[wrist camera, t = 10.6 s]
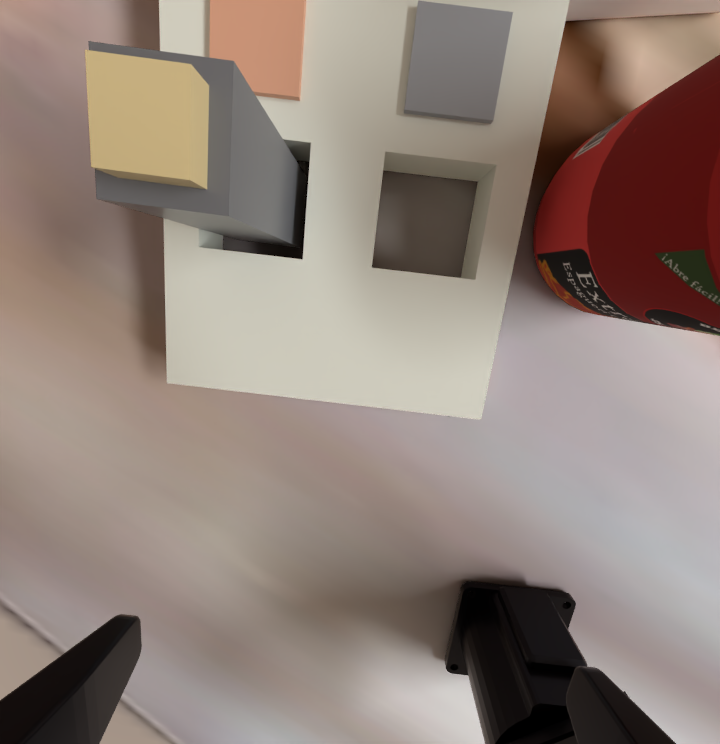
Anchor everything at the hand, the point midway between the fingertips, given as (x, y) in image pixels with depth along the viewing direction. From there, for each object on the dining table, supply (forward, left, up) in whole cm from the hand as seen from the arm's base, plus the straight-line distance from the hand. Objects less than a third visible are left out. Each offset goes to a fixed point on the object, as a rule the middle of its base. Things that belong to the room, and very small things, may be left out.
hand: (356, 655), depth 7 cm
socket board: (+10, +2, -12) cm, 16 cm away
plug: (+10, +5, -12) cm, 17 cm away
